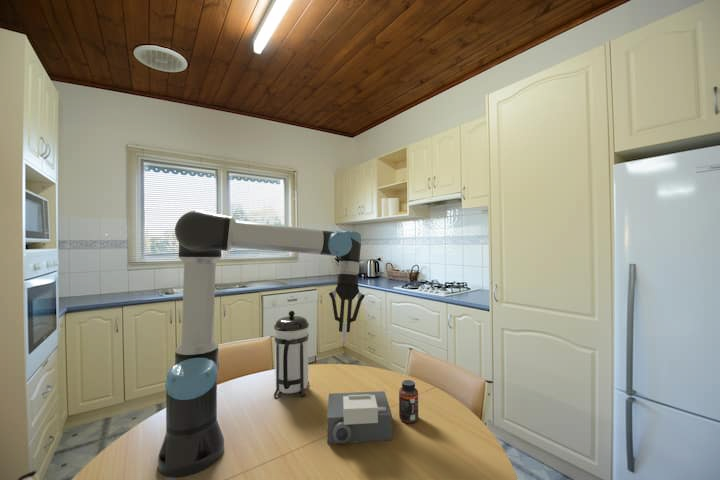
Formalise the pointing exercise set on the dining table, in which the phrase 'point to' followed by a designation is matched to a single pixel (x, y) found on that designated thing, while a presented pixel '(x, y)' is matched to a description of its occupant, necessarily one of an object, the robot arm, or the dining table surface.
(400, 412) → the supplement bottle
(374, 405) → the hatch door
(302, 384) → the coffee press
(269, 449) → the dining table surface
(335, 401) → the gray box
